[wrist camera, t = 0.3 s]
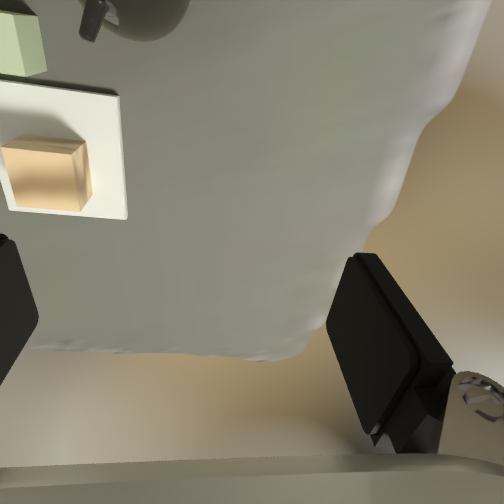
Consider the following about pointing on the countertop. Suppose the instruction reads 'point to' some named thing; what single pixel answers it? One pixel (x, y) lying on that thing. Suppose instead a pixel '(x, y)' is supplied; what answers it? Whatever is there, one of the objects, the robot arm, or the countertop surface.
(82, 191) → the oak block
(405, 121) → the countertop surface
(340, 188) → the countertop surface
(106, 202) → the building board
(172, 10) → the pump dispenser
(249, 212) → the countertop surface
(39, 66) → the sage cube
